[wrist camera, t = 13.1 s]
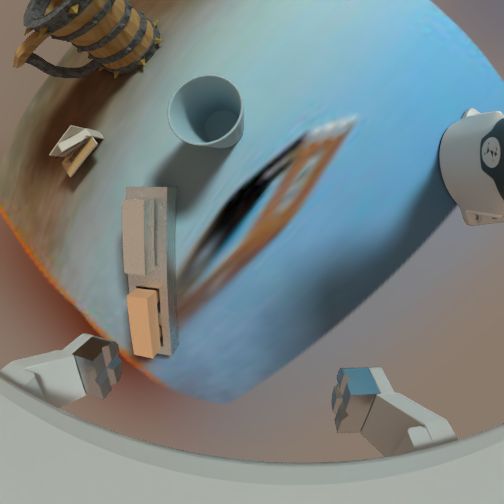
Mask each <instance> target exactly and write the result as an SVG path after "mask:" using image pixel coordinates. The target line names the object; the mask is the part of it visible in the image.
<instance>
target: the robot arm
mask: <svg viewBox="0 0 504 504" xmlns="http://www.w3.org/2000/svg"><path fill="white" fill-rule="evenodd" d="M440 168H441V173H442V177H443V180H444V183H445V185H446V188H447V190H448V192H449V193H450V195H451V197H452V198H453V199H454V200H455V202H456V203H457V204H458V206H459V207H460V209H461V212H462V215H463V218H464V221H465V222H466V224H467V225H481V224H491V223H499V222H504V115H503V114H502V113H501V112H499V111H494V112H487V113H479V112H478V111H477V110H475V109H473V108H471V109H467V110H466V111H465V113H464V115H463V117H462V118H461V119H460V120H459V121H457V122H455V123H453V124H452V125H450V126H449V127H448V129H447V130H446V131H445V133H444V135H443V138H442V141H441V145H440ZM475 217H476V218H475ZM118 353H119V348H118V344H117V343H116V342H115V341H111V340H107V339H104V338H100V337H96V336H93V335H89V334H82V335H80V336H79V337H78V338H77V339H75V340H74V341H73V342H72V343H70V344H69V345H68V346H67V347H66V348H64V349H63V350H62V351H60V350H57V351H53V352H49V353H45V354H41V355H36V356H32V357H28V358H24V359H20V360H15V361H12V362H11V363H9V364H8V365H7V366H6V367H4V368H3V369H1V370H0V504H504V423H503V424H501V425H499V426H496V427H494V428H491V429H488V430H486V431H483V432H480V433H478V434H475V435H472V436H469V437H466V438H463V439H460V440H458V439H457V437H456V435H455V434H454V432H453V430H452V428H451V427H450V425H449V423H448V422H447V420H446V419H444V418H442V417H440V416H438V415H437V414H435V413H433V412H431V411H430V410H428V409H426V408H424V407H422V406H421V405H419V404H417V403H415V402H414V401H412V400H410V399H409V398H407V397H405V396H403V395H402V394H400V393H394V391H393V389H392V387H391V385H390V383H389V381H388V379H387V377H386V375H385V374H384V372H383V370H382V368H381V367H367V368H340V370H339V372H338V375H337V380H338V384H337V385H336V386H335V387H334V390H333V394H332V409H333V412H334V413H335V414H336V418H335V424H336V429H337V433H356V432H361V434H362V435H363V436H364V437H365V438H366V439H367V440H368V441H369V442H370V443H371V444H372V445H373V446H374V447H375V448H376V449H377V450H378V451H379V452H380V453H381V454H382V455H384V456H385V457H380V458H372V459H363V460H354V461H342V462H323V463H283V462H281V463H280V462H263V461H251V460H240V459H232V458H225V457H218V456H211V455H205V454H200V453H194V452H189V451H184V450H179V449H174V448H170V447H166V446H162V445H158V444H154V443H151V442H147V441H144V440H140V439H137V438H133V437H130V436H127V435H124V434H121V433H118V432H115V431H112V430H109V429H106V428H104V427H101V426H98V425H96V424H93V423H91V422H88V421H86V420H83V419H81V418H79V417H76V416H74V415H72V414H69V413H67V412H65V411H63V410H61V409H59V408H61V407H63V406H65V405H67V404H69V403H71V402H73V401H75V400H77V399H79V398H81V397H83V396H85V395H86V394H87V395H90V396H93V397H96V398H99V399H103V400H104V399H105V397H107V395H108V394H109V392H110V391H111V385H114V384H116V383H117V382H118V381H119V380H120V377H121V374H122V363H121V361H120V359H119V358H118V356H117V355H118Z"/></svg>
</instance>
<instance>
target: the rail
mask: <svg viewBox="0 0 504 504" xmlns="http://www.w3.org/2000/svg"><path fill="white" fill-rule="evenodd" d="M176 189H177V187H126V200H122V234H123V259H124V273H127V274H128V283H129V294H130V293H131V292H132V291H133V290H135V289H136V288H140V289H147V287H149V288H157V289H159V294H160V302H159V303H158V304H157V311H158V324H159V325H161V326H162V336H161V337H160V345H161V348H160V350H159V351H158V354H163V355H169V356H172V355H173V353H174V352H175V350H176V348H177V347H178V345H179V339H178V322H177V300H176V257H175V232H176Z"/></svg>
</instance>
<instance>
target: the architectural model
mask: <svg viewBox="0 0 504 504" xmlns="http://www.w3.org/2000/svg"><path fill="white" fill-rule="evenodd" d="M94 137H95V138H99V139H104V137H103V136H102V135H101V133H100V132H99V131H95V130H91V129H87V128H86V129H85V128H81V127H77V126H72V125H70V127H69V128H68V129H67V131H66V132H65V133H64V135H63V136H62V137H61V139H60V140H59V141H58V143H57V144H56V146H55V147H54V148H53V150H52V151H51V153H50V154H49V155H50V156H57V157H59V156H61V157H65V159H64V160H63V162H62V165H63V167H64V168H65V170H66V172H67V173H68V175H69V176H70V177H72V176H73V174H74V173H75V172H76V170H77V169H78V168H79V167H80V165H81V164H82V163H83V161H84V160H85V159H86V158H87V156H88V155H89V154H90V153H91V152H92V150H93V149H94V148H95V147H97V142H96V141H95V139H94ZM57 157H56V158H57Z"/></svg>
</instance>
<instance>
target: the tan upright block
mask: <svg viewBox="0 0 504 504" xmlns="http://www.w3.org/2000/svg"><path fill="white" fill-rule="evenodd" d="M159 302H160V294H159V289H157V288H148V289H140V288H136V289H135V290H133V291H132V292H131V293H130V294H128V295H127V305H128V314H129V322H130V330H131V337H132V344H133V350H134V355H138V356H143V357H148V358H154V357H155V355H156V354H157V353H158V351H159V350H160V348H161V345H160V337H161V336H162V326H161V325H159V324H158V311H157V304H158V303H159Z"/></svg>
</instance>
